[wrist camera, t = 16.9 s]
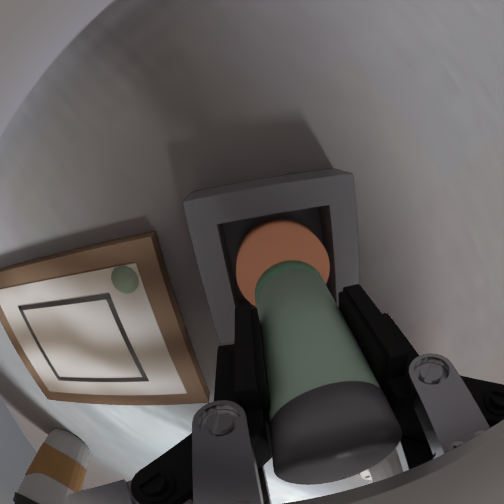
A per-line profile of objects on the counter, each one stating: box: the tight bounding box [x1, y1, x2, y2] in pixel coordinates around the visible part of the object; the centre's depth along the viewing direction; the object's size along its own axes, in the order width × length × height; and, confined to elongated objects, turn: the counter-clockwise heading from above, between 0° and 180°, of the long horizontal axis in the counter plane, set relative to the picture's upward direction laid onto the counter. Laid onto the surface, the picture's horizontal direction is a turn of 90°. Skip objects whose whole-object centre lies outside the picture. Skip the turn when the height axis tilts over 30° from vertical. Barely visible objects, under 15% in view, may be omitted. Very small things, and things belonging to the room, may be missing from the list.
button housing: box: [183, 168, 360, 344], centre depth 18 cm, size 9×9×3 cm
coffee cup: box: [13, 429, 90, 504], centre depth 21 cm, size 8×8×15 cm
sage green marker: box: [255, 260, 402, 485], centre depth 9 cm, size 3×3×8 cm
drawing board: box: [0, 231, 210, 405], centre depth 21 cm, size 15×19×1 cm
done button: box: [236, 217, 330, 307], centre depth 16 cm, size 5×5×2 cm
